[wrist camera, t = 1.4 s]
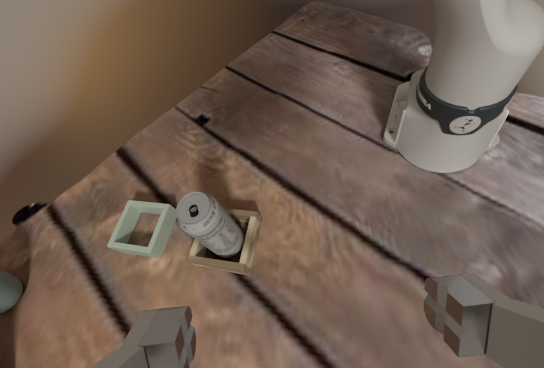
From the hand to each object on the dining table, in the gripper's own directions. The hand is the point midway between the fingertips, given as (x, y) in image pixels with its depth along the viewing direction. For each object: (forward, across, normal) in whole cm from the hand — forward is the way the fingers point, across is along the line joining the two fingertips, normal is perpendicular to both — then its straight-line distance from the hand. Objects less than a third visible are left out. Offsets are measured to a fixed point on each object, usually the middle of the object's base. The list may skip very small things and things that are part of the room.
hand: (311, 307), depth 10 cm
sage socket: (+44, +24, +14) cm, 52 cm away
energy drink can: (+38, +8, +15) cm, 42 cm away
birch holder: (+38, +8, +15) cm, 42 cm away
